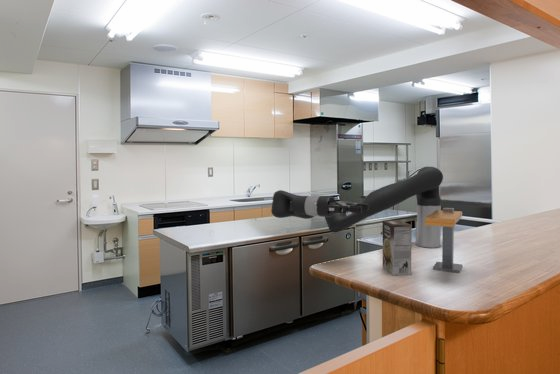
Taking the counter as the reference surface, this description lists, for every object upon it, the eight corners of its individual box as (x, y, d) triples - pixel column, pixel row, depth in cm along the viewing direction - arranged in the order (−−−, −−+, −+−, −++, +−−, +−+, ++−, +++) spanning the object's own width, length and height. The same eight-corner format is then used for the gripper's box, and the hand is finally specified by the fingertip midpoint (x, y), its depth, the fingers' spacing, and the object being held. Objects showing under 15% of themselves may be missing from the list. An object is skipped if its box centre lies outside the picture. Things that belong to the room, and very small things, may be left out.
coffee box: (381, 267, 128) (381, 220, 127) (400, 266, 128) (400, 219, 127) (392, 275, 119) (392, 224, 118) (412, 274, 119) (412, 224, 118)
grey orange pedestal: (424, 281, 112) (424, 214, 111) (436, 263, 131) (437, 206, 130) (453, 285, 108) (454, 216, 107) (462, 266, 127) (463, 207, 125)
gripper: (328, 213, 143) (371, 216, 134) (311, 219, 131) (357, 222, 122) (328, 194, 142) (371, 195, 134) (310, 197, 130) (357, 199, 121)
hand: (364, 208), depth 128 cm, fingers open, 6 cm apart
